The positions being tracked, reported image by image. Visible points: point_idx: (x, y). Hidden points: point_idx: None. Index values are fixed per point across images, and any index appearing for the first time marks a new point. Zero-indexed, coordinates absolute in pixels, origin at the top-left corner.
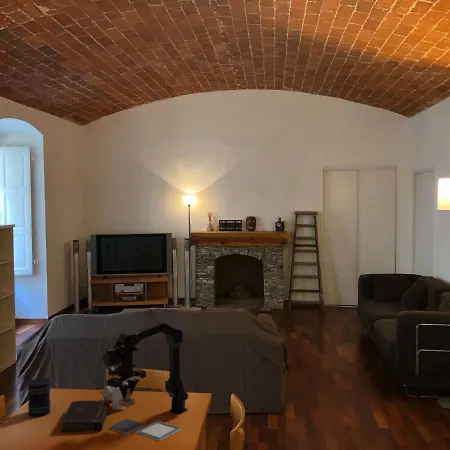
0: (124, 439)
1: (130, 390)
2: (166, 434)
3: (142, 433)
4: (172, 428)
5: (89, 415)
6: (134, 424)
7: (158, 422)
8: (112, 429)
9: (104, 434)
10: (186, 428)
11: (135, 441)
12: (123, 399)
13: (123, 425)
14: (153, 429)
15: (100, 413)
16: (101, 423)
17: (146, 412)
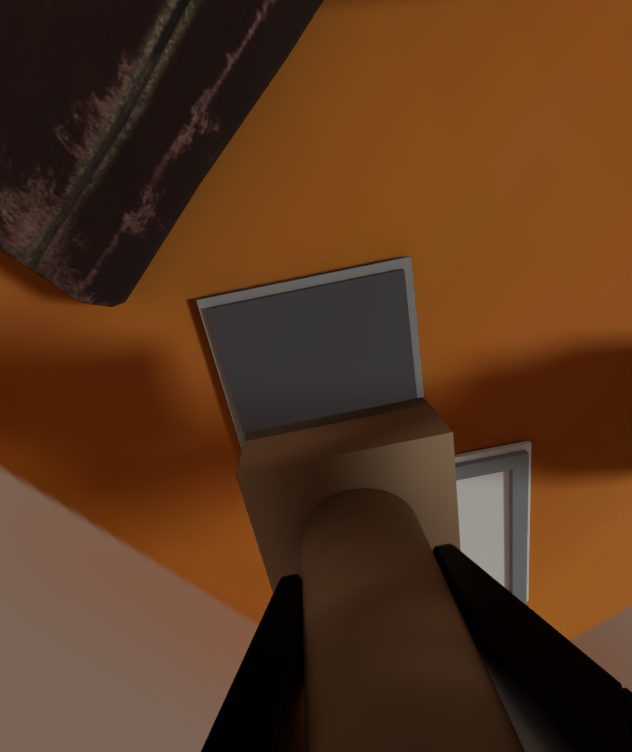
0: (204, 513)
1: (511, 721)
2: None
3: None
4: (497, 577)
5: (14, 3)
6: None
7: (511, 475)
8: (210, 341)
9: (123, 368)
10: (548, 605)
11: (243, 567)
12: (305, 529)
13: (297, 372)
14: None
15: (178, 52)
16: (98, 301)
17: (624, 239)
